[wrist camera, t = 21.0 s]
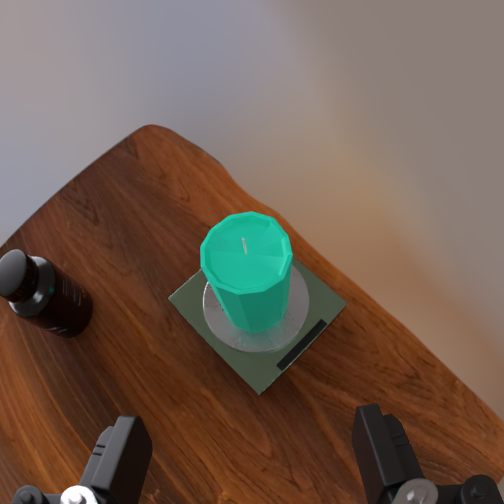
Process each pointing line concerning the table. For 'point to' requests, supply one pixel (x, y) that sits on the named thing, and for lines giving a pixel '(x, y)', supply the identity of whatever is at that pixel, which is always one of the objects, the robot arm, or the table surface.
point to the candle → (249, 269)
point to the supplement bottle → (44, 294)
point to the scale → (263, 342)
